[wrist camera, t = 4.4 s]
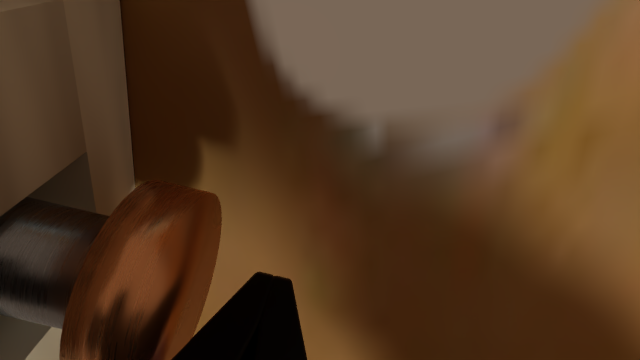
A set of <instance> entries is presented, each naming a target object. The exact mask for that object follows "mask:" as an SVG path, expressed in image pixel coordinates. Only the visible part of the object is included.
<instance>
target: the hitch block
mask: <svg viewBox="0 0 640 360" xmlns="http://www.w3.org/2000/svg"><path fill="white" fill-rule="evenodd" d="M134 189H135V180H134V168H133V156H132V143H131V131H130V119H129V107H128V95H127V83H126V70H125V58H124V46H123V34H122V22H121V10H120V0H0V216H1V215H3V214H4V213H5V212H7V211H8V210H9V209H11V208H12V207H13V206H15V205H16V204H17V203H19V202H20V201H21V200H23V199H24V198H25V197H30V198H34V199H39V200H43V201H47V202H51V203H56V204H60V205H64V206H69V207H73V208H77V209H81V210H86V211H90V212H94V213H98V214H103V215H107V216H110V215H111V214H112V212H113V211H114V210H115V208H116V207H117V206H118V205H119V204H120V203H121V201H122V200H123V199H124V198H125V197H126V196H127V195H128V194H129V193H131V192H132V191H133V190H134ZM61 333H62V329H59V328H54V327H50V326H46V325H42V324H37V323H33V322H29V321H24V320H20V319H16V318H12V317H7V316H3V315H0V360H59V352H60V339H61Z"/></svg>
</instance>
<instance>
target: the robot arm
mask: <svg viewBox="0 0 640 360" xmlns="http://www.w3.org/2000/svg"><path fill="white" fill-rule="evenodd" d="M171 360H307V356H306V351H305V346H304V341H303V336H302V331H301V326H300V320H299V315H298V310H297V305H296V300H295V295H294V290H293V285H292V281H291V280H290V279H288V278H284V277H280V276H273V275H271V274H267V273H263V272H257V273H255V274H254V275H253V276H252V277H251V278H250V279H249V280H248V281H247V282H246V283H245V284H244V285H243V286H242V287H241V288H240V289H239V290H238V291H237V293H236V294H235V295H234V296H233V297H232V298H231V299H230V300H229V301H228V302H227V303H226V304H225V305H224V306H223V307H222V308H221V309H220V310H219V311H218V312H217V313H216V314H215V315H214V316H213V317H212V318H211V319H210V320H209V321H208V322H207V323H206V324H205V325H204V326H203V327H202V328H201V329H200V330H199V331H198V332H197V334H196V335H195V336H194V337H193V338H192V339H191V340H190V341H189V342H188V343H187V344H186V345H185V346H184V347H183V348H182V349H181V350H180V351H179V352H178V353H177V354H176V355H175V356H174V357H173V358H172V359H171Z"/></svg>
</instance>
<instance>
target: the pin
mask: <svg viewBox="0 0 640 360" xmlns="http://www.w3.org/2000/svg"><path fill="white" fill-rule="evenodd" d="M221 221H222V217H221V205H220V201H219V199H218V197H217V196H216V194H214V193H210V192H206V191H202V190H198V189H193V188H189V187H185V186H181V185H176V184H172V183H168V182H164V181H159V180H152V181H148V182H146V183H144V184H142V185H140V186H138V187H137V188H136V189H134V190H133V191H132V192H131V193H129V194H128V195H127V196H126V197H125V198H124V199H123V200H122V201H121V203H120V204H119V205H118V206H117V207H116V208H115V210H114V211H113V212H112V214H111V215H110V216H107V215H103V214H98V213H94V212H90V211H86V210H81V209H77V208H73V207H69V206H64V205H60V204H56V203H51V202H47V201H43V200H39V199H34V198H30V197H25V198H24V199H23V200H21V201H20V202H19V203H17V204H16V205H15V206H13V207H12V208H11V209H9V210H8V211H7V212H5V213H4V214H3V215H1V216H0V315H3V316H7V317H12V318H16V319H20V320H24V321H29V322H33V323H37V324H42V325H46V326H50V327H54V328H59V329H62V333H61V339H60V352H59V360H171V359H172V358H173V357H174V356H175V355H176V354H177V353H178V352H179V351H180V350H181V349H182V348H183V347H184V346H185V345H186V344H187V343H188V342H189V341H190V340H191V339H192V337H193V335H194V332H195V330H196V327H197V324H198V322H199V319H200V316H201V313H202V310H203V307H204V304H205V301H206V298H207V295H208V291H209V288H210V284H211V280H212V277H213V273H214V268H215V264H216V259H217V254H218V249H219V242H220V235H221Z"/></svg>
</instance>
